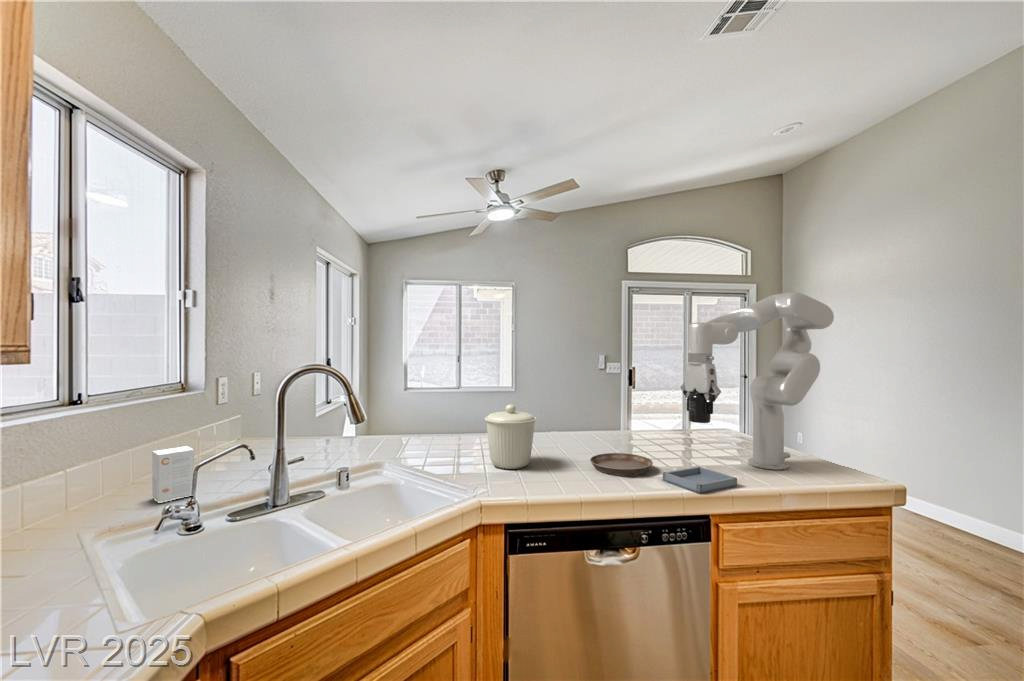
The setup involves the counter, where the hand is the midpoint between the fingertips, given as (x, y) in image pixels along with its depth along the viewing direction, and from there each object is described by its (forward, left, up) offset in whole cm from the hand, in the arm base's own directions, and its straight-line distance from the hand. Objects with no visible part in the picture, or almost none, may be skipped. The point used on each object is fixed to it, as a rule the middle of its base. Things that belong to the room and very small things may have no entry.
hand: (699, 411), depth 153 cm
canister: (+54, -33, -20) cm, 67 cm away
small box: (+151, -43, -20) cm, 159 cm away
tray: (+11, +10, -20) cm, 25 cm away
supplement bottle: (0, 0, -4) cm, 4 cm away
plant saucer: (+22, -13, -20) cm, 33 cm away
